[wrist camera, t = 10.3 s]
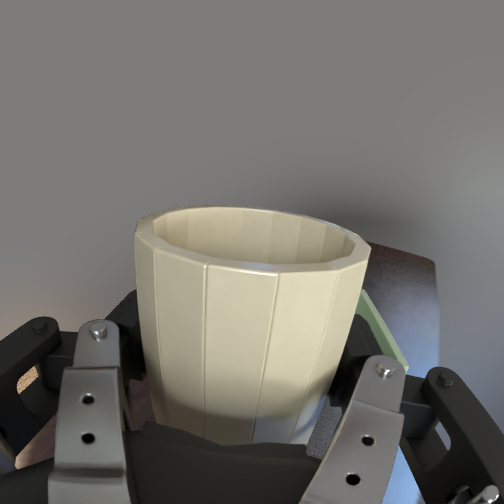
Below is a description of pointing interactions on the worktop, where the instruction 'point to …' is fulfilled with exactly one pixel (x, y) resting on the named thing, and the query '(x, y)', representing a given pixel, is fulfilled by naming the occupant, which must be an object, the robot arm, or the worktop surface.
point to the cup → (244, 318)
